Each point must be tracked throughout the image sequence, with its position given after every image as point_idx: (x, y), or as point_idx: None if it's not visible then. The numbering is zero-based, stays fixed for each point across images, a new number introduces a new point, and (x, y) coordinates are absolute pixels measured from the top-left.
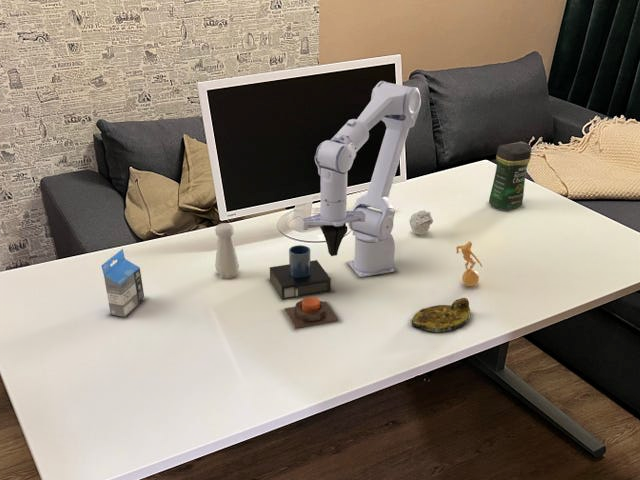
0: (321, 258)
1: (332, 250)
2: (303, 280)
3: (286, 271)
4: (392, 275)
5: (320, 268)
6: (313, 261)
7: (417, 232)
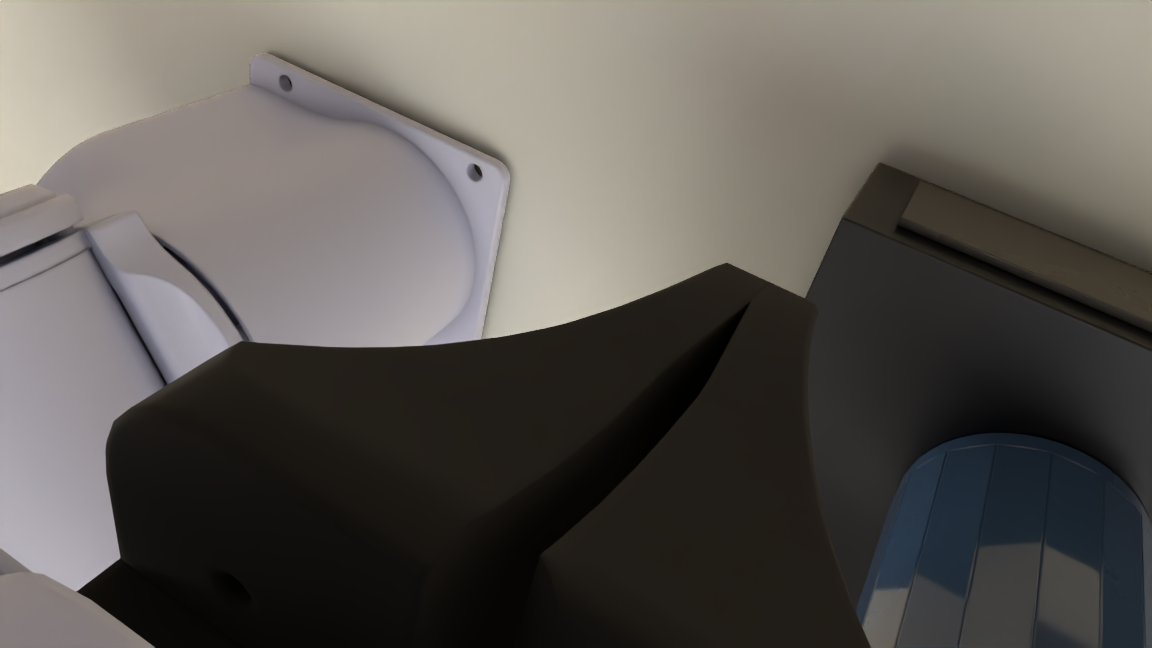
0: None
1: (786, 341)
2: (1138, 409)
3: None
4: (294, 21)
5: None
6: None
7: None
